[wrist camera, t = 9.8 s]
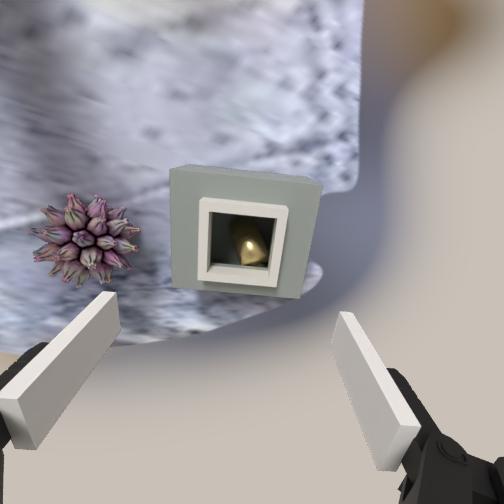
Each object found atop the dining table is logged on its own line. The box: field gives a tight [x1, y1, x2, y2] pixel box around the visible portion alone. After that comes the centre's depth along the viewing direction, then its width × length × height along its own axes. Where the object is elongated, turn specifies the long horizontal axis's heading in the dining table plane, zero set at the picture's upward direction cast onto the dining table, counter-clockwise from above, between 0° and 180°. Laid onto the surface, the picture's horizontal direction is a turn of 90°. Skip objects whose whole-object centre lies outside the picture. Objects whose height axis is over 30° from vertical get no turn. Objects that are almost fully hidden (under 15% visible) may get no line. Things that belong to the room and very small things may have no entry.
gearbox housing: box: [169, 164, 323, 299], centre depth 32 cm, size 16×14×11 cm
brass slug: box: [229, 217, 269, 268], centre depth 33 cm, size 4×4×6 cm
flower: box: [27, 194, 141, 288], centre depth 32 cm, size 12×12×12 cm
